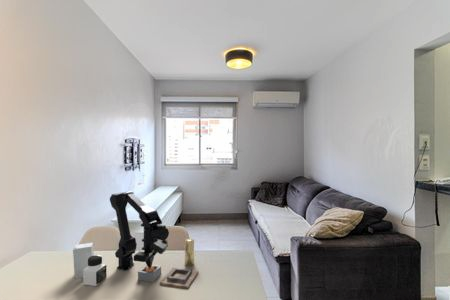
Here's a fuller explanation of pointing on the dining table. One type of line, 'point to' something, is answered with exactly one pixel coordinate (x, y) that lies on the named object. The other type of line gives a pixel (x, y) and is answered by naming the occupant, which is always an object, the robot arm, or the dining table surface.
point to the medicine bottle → (94, 271)
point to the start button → (150, 269)
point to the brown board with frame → (179, 278)
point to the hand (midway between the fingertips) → (149, 267)
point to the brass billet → (189, 252)
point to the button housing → (149, 274)
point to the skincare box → (81, 258)
